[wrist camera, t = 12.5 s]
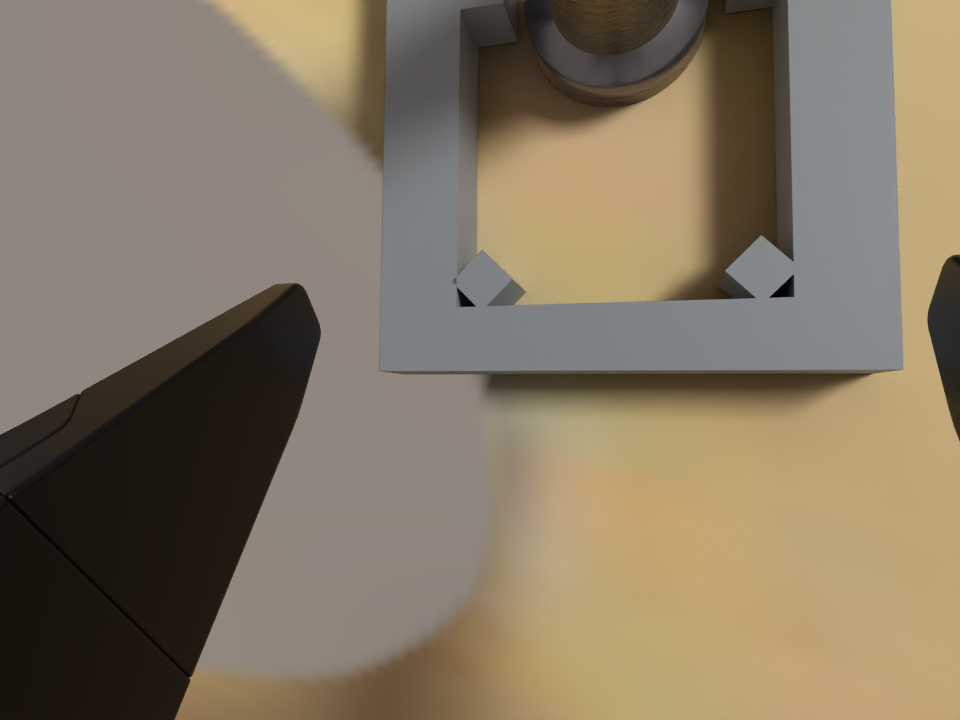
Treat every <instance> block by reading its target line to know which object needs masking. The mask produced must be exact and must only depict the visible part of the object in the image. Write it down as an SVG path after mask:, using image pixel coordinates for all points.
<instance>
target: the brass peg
mask: <svg viewBox="0 0 960 720" xmlns="http://www.w3.org/2000/svg"><path fill="white" fill-rule="evenodd" d="M708 4H709V0H525V17H526V23H527V27H528V31H529V34H530V37H531V40H532V43H533V46H534V49H535V52H536V55H537V58H538V61H539V64H540V66H541V68H542V70H543V72H544V74H545V75H546V77H547V78H548V80H549V81H550V82H551V83H552V84H553V85H554V86H555V87H556V88H557V89H558V90H559V91H561V92H562V93H563V94H565V95H567V96H568V97H570V98H572V99H574V100H576V101H579V102H581V103H584V104H588V105H592V106H600V107H616V106H624V105H629V104H633V103H637V102H639V101H642V100H644V99H647V98H649V97H651V96H653V95H655V94H657V93H659V92H660V91H662V90H663V89H664V88H666V87H667V86H669V85H670V84H671V83H672V82H673V81H675V80H676V79H677V78H678V77H679V76H680V75H681V74H682V72H683V71H684V70H685V69H686V68H687V66H688V65H689V64H690V62H691V61H692V59H693V58H694V56H695V54H696V52H697V50H698V48H699V46H700V43H701V41H702V38H703V34H704V30H705V25H706V18H707V11H708Z"/></svg>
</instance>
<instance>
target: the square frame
mask: <svg viewBox="0 0 960 720" xmlns="http://www.w3.org/2000/svg"><path fill="white" fill-rule="evenodd" d="M724 3H725V13H733V12H740V11H747V10H754V9H762V8H769V7H772V17H773V65H774V113H775V161H776V210H777V248H776V247H775V246H774V245H773V244H772V243H770V242H769V241H768V240H767V239H766V238H764V237H763V236H762V235H761V236H760V237H759V238H758V239H757V240H756V241H755V242H754V243H753V244H752V245H751V246H750V247H749V248H748V249H747V250H746V251H745V252H744V253H743V254H742V255H741V256H739V257H738V258H737V259H736V260H735V261H734V262H733V263H732V264H731V265H730V266H729V267H728V268H727V269H726V270H725V272H724V273H723V275H722V277H721V279H720V281H719V283H718V284H717V286H718V287H720V288H721V289H722V290H723V291H724V292H725V293H726V294H728V295H729V296H730V297H731V298H732V299H713V300H680V301H646V302H612V303H578V304H544V305H514V304H515V303H516V302H517V301H518V300H519V299H520V298H521V297H522V296H523V294H524V293H525V292H526V291H525V290H524V289H523V288H522V287H520V286H519V285H518V284H517V283H516V282H515V281H514V280H513V279H512V278H511V277H510V276H509V275H508V274H507V273H506V272H505V271H504V270H503V269H502V268H501V267H500V266H499V265H498V264H497V263H496V262H495V261H494V260H492V259H491V258H490V257H489V256H488V255H487V254H486V253H485V252H484V251H483V250H481V251H480V252H479V253H478V254H477V255H476V227H477V136H478V47H486V46H493V45H500V44H507V43H515V42H518V0H387V17H386V65H385V113H384V160H383V210H382V257H381V305H380V351H379V354H380V355H379V371H383V372H392V373H400V374H874V373H882V372H889V371H896V370H903V344H902V314H901V284H900V254H899V224H898V195H897V165H896V135H895V105H894V75H893V46H892V16H891V0H724ZM777 289H778V298H769V297H770V296H771V295H772V294H773V293H774V292H775V291H776V290H777Z"/></svg>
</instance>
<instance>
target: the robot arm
mask: <svg viewBox="0 0 960 720" xmlns="http://www.w3.org/2000/svg"><path fill="white" fill-rule="evenodd" d="M928 329H929V333H930V337H931V341H932V345H933V349H934V353H935V356H936V360H937V364H938V368H939V372H940V376H941V380H942V384H943V388H944V392H945V396H946V400H947V404H948V408H949V411H950V415H951V418H952V422H953V425H954V428H955V430H956V433H957V436H958V438H959V441H960V255H953V256H951V257H950V258H948V259H947V260H946V262H945V263H944V265H943V267H942V270H941V273H940V276H939V279H938V282H937V285H936V288H935V291H934V294H933V298H932V301H931V304H930V307H929V310H928ZM320 335H321V330H320V324H319V321H318V319H317V317H316V314H315V312H314V309H313V307H312V305H311V303H310V300H309V297H308V295H307V293H306V291H305V289H304V288H303V286H301V285H300V284H298V283H287V284H276V285H273V286H272V287H270V288H268V289H266V290H264V291H262V292H261V293H259V294H257V295H255V296H253V297H251V298H250V299H248V300H246V301H244V302H242V303H241V304H239V305H237V306H235V307H233V308H232V309H230V310H228V311H226V312H224V313H223V314H221V315H219V316H217V317H215V318H213V319H212V320H210V321H208V322H206V323H204V324H203V325H201V326H199V327H197V328H196V329H194V330H192V331H190V332H188V333H186V334H185V335H183V336H181V337H179V338H177V339H175V340H174V341H172V342H170V343H168V344H166V345H165V346H163V347H161V348H159V349H157V350H156V351H154V352H152V353H150V354H148V355H147V356H145V357H143V358H141V359H139V360H138V361H136V362H134V363H132V364H130V365H128V366H127V367H125V368H123V369H121V370H119V371H118V372H116V373H114V374H112V375H110V376H109V377H107V378H105V379H103V380H101V381H99V382H98V383H96V384H94V385H92V386H90V387H89V388H87V389H85V390H83V391H82V392H81V394H76V395H74V396H72V397H70V398H69V399H67V400H65V401H63V402H61V403H59V404H58V405H56V406H54V407H52V408H51V409H48V410H47V411H45V412H43V413H41V414H39V415H37V416H36V417H34V418H32V419H30V420H28V421H26V422H24V423H22V424H21V425H19V426H17V427H15V428H13V429H11V430H9V431H7V432H5V433H3V434H1V435H0V720H175V717H176V715H177V712H178V710H179V707H180V705H181V702H182V700H183V698H184V695H185V693H186V690H187V688H188V685H189V683H190V678H189V677H191V676H192V675H193V672H194V670H195V667H196V665H197V662H198V660H199V658H200V655H201V653H202V650H203V648H204V645H205V643H206V640H207V638H208V635H209V633H210V631H211V628H212V626H213V623H214V621H215V618H216V616H217V613H218V611H219V609H220V606H221V604H222V601H223V598H224V596H225V594H226V591H227V589H228V587H229V584H230V582H231V579H232V577H233V574H234V572H235V569H236V567H237V565H238V562H239V560H240V557H241V555H242V552H243V550H244V547H245V545H246V542H247V540H248V538H249V535H250V533H251V530H252V528H253V525H254V523H255V520H256V518H257V515H258V513H259V511H260V508H261V506H262V503H263V501H264V498H265V496H266V494H267V491H268V489H269V486H270V484H271V481H272V479H273V476H274V474H275V472H276V469H277V466H278V464H279V462H280V459H281V457H282V454H283V452H284V449H285V447H286V445H287V442H288V439H289V437H290V435H291V432H292V430H293V427H294V425H295V422H296V419H297V417H298V414H299V411H300V407H301V405H302V401H303V398H304V394H305V391H306V387H307V384H308V380H309V377H310V373H311V370H312V366H313V363H314V359H315V355H316V352H317V348H318V345H319V341H320Z"/></svg>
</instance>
